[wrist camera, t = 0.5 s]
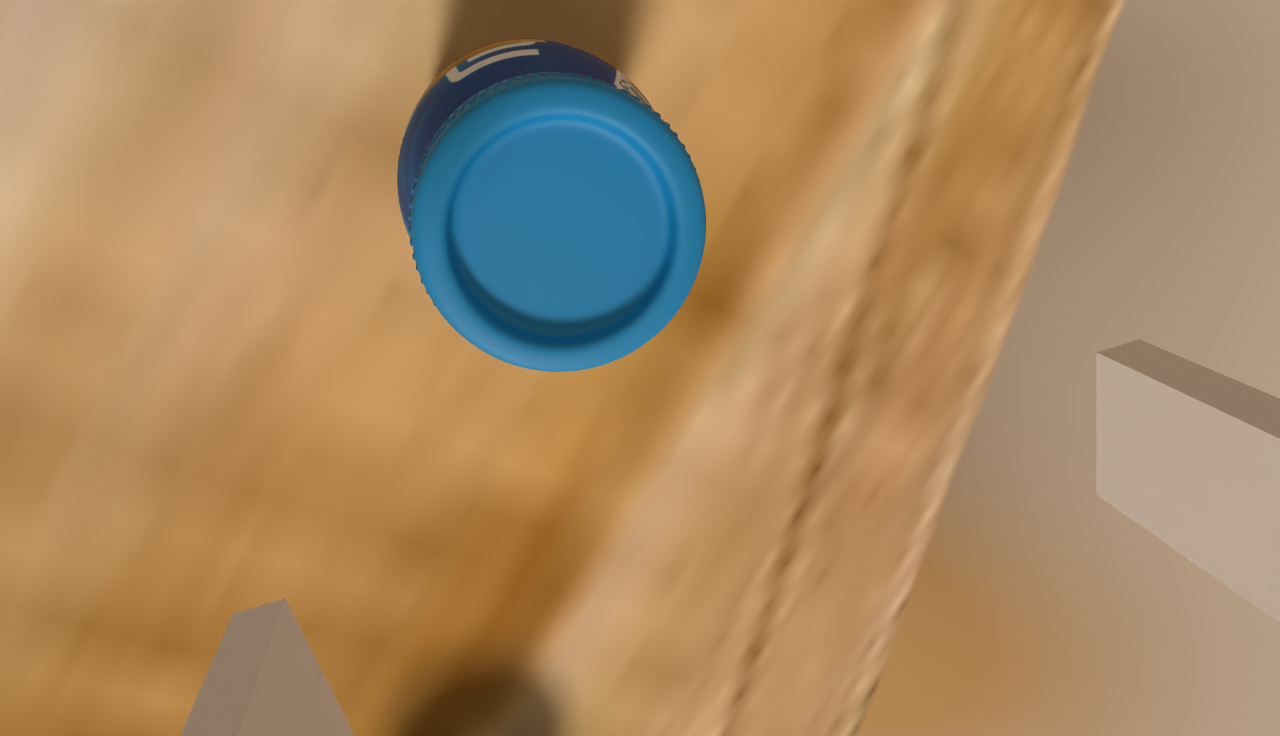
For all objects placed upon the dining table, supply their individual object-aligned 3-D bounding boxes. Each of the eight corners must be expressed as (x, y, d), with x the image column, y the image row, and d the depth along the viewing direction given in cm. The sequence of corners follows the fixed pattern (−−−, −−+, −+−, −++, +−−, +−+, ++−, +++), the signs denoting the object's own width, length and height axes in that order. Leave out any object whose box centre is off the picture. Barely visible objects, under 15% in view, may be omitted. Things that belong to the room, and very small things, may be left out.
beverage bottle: (599, 246, 38) (717, 418, 20) (416, 230, 36) (361, 405, 18) (620, 58, 35) (780, 58, 17) (423, 31, 34) (365, -3, 15)
